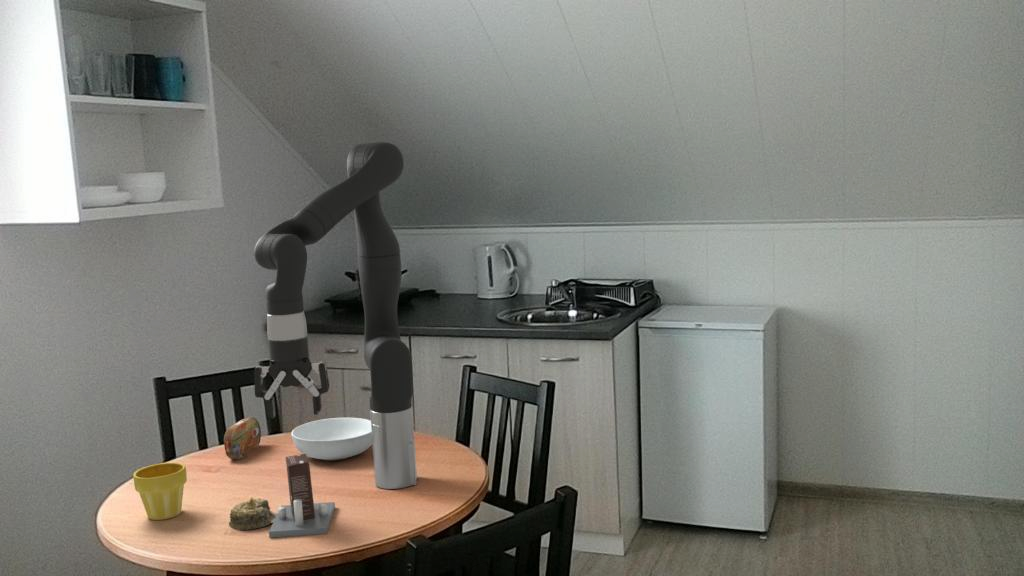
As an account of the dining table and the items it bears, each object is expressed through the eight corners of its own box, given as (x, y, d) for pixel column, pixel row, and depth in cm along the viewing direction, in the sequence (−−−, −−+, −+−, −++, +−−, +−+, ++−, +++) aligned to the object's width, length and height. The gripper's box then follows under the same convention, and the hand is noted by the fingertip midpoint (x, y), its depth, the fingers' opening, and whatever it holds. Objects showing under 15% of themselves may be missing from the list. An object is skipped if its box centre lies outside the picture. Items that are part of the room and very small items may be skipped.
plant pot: (132, 514, 197) (127, 469, 196) (181, 501, 203) (177, 458, 202) (145, 528, 189) (140, 481, 187) (196, 515, 194) (192, 469, 193)
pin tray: (335, 507, 195) (332, 478, 194) (326, 533, 181) (324, 503, 180) (281, 511, 194) (279, 482, 193) (269, 537, 180) (266, 507, 180)
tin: (235, 463, 228) (232, 430, 227) (223, 463, 229) (220, 430, 228) (263, 445, 243) (260, 413, 242) (252, 444, 243) (249, 413, 242)
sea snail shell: (231, 538, 183) (226, 512, 183) (227, 521, 193) (222, 497, 192) (282, 524, 187) (277, 499, 186) (275, 509, 196) (271, 485, 195)
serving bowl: (372, 466, 221) (370, 438, 220) (284, 470, 221) (282, 442, 220) (384, 440, 242) (382, 414, 241) (303, 444, 242) (301, 418, 241)
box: (289, 513, 190) (284, 456, 188) (312, 509, 191) (307, 452, 189) (292, 523, 184) (287, 464, 182) (315, 519, 185) (311, 461, 184)
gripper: (326, 329, 187) (333, 408, 189) (254, 334, 186) (261, 413, 188) (321, 336, 179) (328, 418, 182) (246, 341, 179) (254, 423, 181)
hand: (294, 415), depth 185 cm, fingers open, 8 cm apart
